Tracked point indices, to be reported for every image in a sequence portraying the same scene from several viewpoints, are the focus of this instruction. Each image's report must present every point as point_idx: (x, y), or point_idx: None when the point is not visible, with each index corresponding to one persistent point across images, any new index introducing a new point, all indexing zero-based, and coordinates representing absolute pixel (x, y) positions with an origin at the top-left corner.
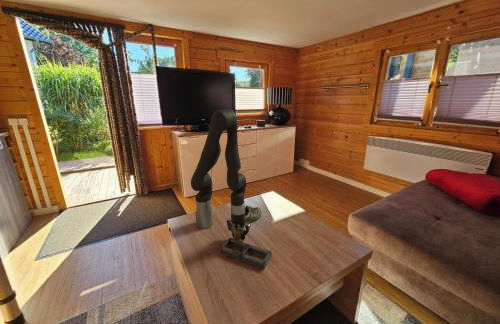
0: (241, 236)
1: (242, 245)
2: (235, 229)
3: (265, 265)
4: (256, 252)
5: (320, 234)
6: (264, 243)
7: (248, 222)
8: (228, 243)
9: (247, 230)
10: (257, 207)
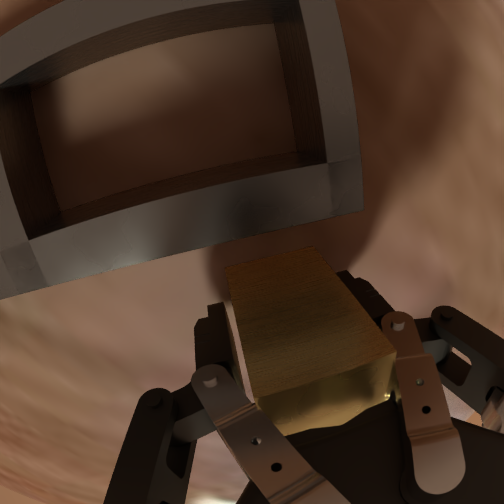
0: (229, 339)
1: (87, 217)
2: (365, 378)
3: None
4: None
5: (17, 482)
6: (58, 382)
7: None
8: (311, 120)
9: (114, 476)
10: None
